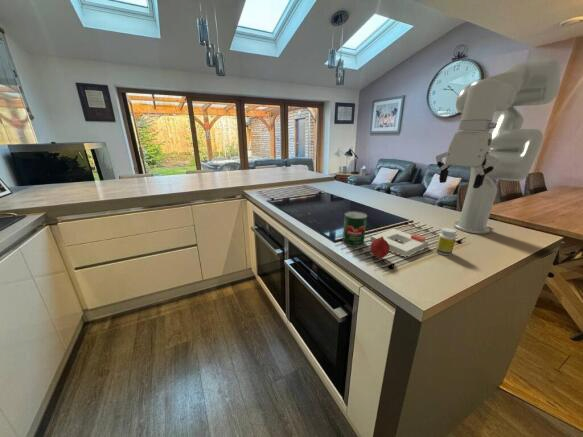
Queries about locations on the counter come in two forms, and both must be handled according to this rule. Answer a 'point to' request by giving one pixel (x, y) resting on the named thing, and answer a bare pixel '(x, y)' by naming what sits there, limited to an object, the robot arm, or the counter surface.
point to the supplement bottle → (446, 241)
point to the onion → (379, 247)
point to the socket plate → (411, 241)
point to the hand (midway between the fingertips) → (458, 185)
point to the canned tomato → (354, 228)
